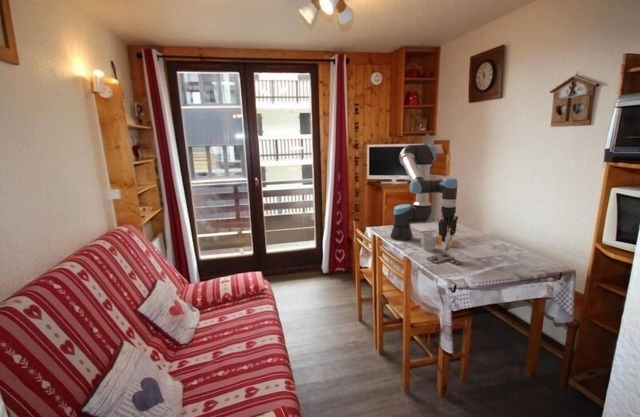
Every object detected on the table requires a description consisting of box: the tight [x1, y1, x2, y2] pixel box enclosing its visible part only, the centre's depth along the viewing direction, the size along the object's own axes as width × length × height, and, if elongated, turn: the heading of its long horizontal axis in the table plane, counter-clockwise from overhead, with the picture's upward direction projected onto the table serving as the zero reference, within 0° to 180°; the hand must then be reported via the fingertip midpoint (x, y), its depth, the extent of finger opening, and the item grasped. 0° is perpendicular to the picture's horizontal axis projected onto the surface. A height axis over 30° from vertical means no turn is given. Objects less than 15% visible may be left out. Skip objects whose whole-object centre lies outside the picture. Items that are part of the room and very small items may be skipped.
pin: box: [443, 226, 451, 252], centre depth 182 cm, size 4×4×13 cm
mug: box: [420, 233, 437, 252], centre depth 201 cm, size 11×8×10 cm
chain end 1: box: [426, 252, 456, 265], centre depth 182 cm, size 15×7×2 cm, turn 115°
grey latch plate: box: [444, 256, 467, 267], centre depth 181 cm, size 15×7×2 cm, turn 25°
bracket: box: [437, 234, 457, 248], centre depth 206 cm, size 11×7×12 cm, turn 3°
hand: (446, 246), depth 183 cm, fingers closed on pin, 3 cm apart
